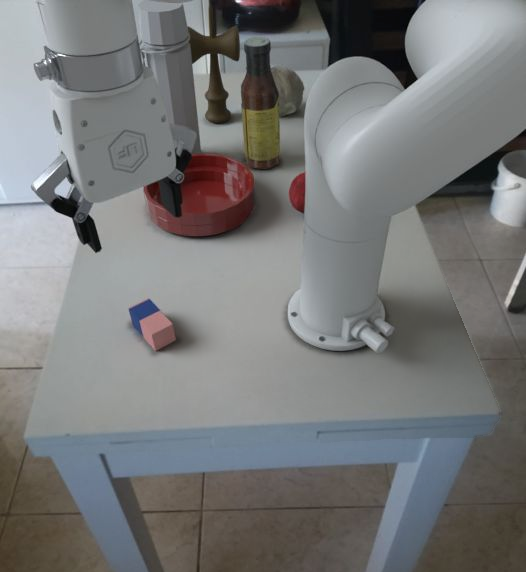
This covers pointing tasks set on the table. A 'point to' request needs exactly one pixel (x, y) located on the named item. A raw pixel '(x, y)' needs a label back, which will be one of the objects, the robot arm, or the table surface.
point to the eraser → (152, 324)
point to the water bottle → (170, 61)
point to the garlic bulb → (288, 89)
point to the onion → (298, 192)
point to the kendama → (215, 65)
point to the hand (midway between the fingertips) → (133, 228)
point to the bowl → (207, 197)
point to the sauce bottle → (260, 106)
